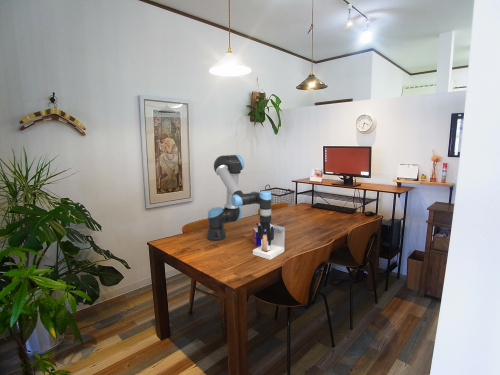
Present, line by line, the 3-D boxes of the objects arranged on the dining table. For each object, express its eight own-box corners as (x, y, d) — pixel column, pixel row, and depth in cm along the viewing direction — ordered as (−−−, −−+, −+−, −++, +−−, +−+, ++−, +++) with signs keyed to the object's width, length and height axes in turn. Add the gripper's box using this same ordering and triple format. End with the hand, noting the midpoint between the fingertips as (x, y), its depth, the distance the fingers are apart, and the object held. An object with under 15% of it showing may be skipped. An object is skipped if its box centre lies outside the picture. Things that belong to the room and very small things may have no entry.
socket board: (252, 254, 183) (251, 229, 180) (267, 246, 195) (267, 223, 193) (270, 259, 173) (270, 234, 170) (285, 251, 186) (285, 227, 183)
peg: (265, 252, 184) (264, 233, 182) (269, 253, 182) (269, 234, 180) (261, 253, 181) (261, 235, 179) (266, 255, 179) (266, 236, 177)
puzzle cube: (256, 245, 197) (256, 232, 196) (252, 240, 207) (252, 228, 205) (269, 244, 200) (269, 231, 198) (264, 239, 210) (264, 227, 208)
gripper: (251, 214, 180) (252, 247, 183) (272, 218, 169) (272, 254, 173) (258, 211, 185) (259, 244, 189) (279, 215, 175) (279, 250, 179)
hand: (265, 248), depth 181 cm, fingers closed on peg, 4 cm apart
